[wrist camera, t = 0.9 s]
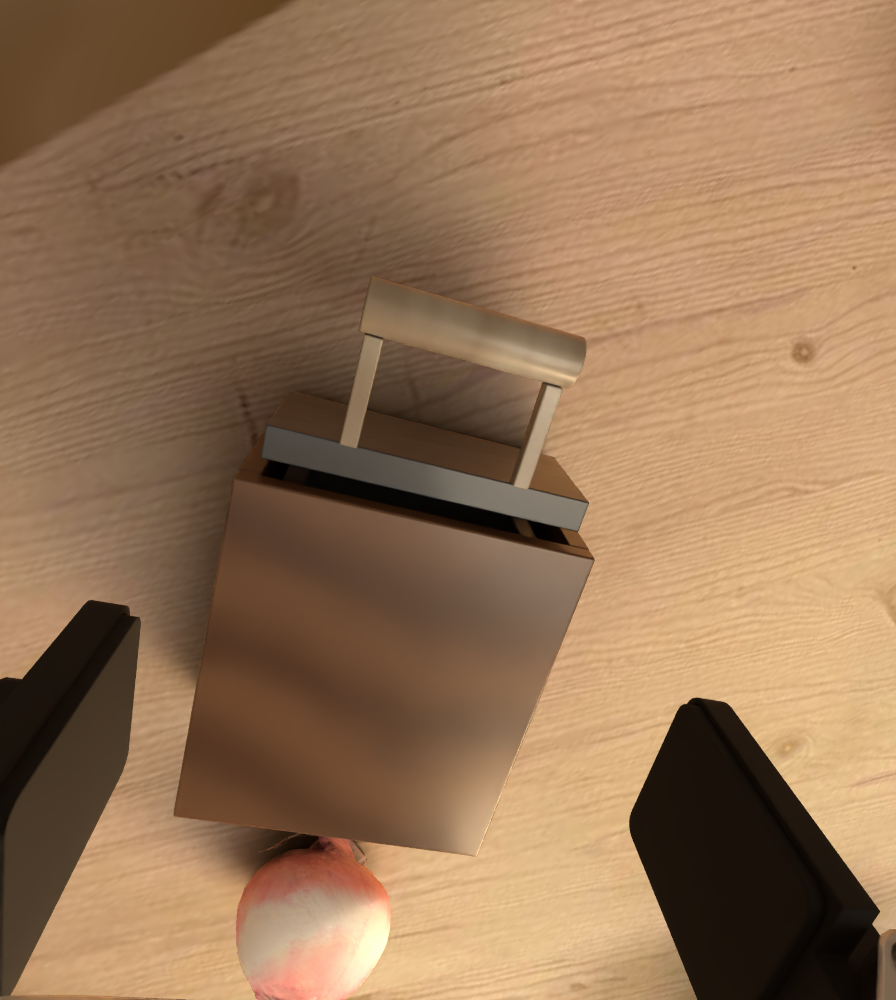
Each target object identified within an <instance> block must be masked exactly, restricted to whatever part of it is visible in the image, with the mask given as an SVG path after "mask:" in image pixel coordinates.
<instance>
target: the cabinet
mask: <svg viewBox="0 0 896 1000" xmlns="http://www.w3.org/2000/svg"><path fill="white" fill-rule="evenodd" d="M264 435H265V430H264V432H263V433H262V435H261V436H260V438H259V439H258V441H257V443H256V444H255V446H254V447H253V449H252V450H251V452H250V453H249V455H248V456H247V458H246V459H245V461H244V462H243V464H242V465H241V467H240V468H239V470H238V472H237V474H236V475H235V477H234V478H233V481H232V487H231V493H230V498H229V504H228V510H227V515H226V521H225V526H224V532H223V538H222V543H221V549H220V555H219V560H218V566H217V571H216V577H215V583H214V588H213V594H212V600H211V605H210V611H209V617H208V622H207V628H206V633H205V639H204V645H203V650H202V656H201V662H200V667H199V673H198V678H197V684H196V690H195V695H194V701H193V707H192V712H191V718H190V723H189V729H188V735H187V740H186V746H185V752H184V757H183V763H182V768H181V774H180V780H179V785H178V791H177V797H176V802H175V808H174V816H175V817H183V818H190V819H198V820H206V821H213V822H221V823H228V824H236V825H243V826H251V827H258V828H266V829H273V830H281V831H288V832H296V833H303V834H311V835H318V836H326V837H333V838H341V839H349V840H356V841H364V842H371V843H379V844H386V845H394V846H401V847H409V848H416V849H424V850H431V851H439V852H446V853H454V854H461V855H469V856H477V855H478V852H479V850H480V847H481V845H482V842H483V840H484V837H485V835H486V832H487V830H488V827H489V825H490V822H491V820H492V817H493V815H494V812H495V810H496V807H497V805H498V802H499V800H500V797H501V795H502V792H503V790H504V787H505V784H506V782H507V779H508V777H509V774H510V772H511V769H512V767H513V764H514V762H515V759H516V757H517V754H518V752H519V749H520V747H521V744H522V742H523V739H524V737H525V734H526V732H527V729H528V727H529V724H530V722H531V719H532V717H533V714H534V712H535V709H536V707H537V704H538V702H539V699H540V697H541V694H542V692H543V689H544V687H545V684H546V681H547V679H548V676H549V674H550V671H551V669H552V666H553V664H554V661H555V659H556V656H557V654H558V651H559V649H560V646H561V644H562V641H563V639H564V636H565V634H566V631H567V629H568V626H569V624H570V621H571V619H572V616H573V614H574V611H575V609H576V606H577V604H578V601H579V599H580V596H581V594H582V591H583V589H584V586H585V584H586V581H587V578H588V576H589V573H590V571H591V568H592V566H593V563H594V561H595V560H594V557H593V556H592V554H591V553H590V551H589V549H588V547H587V546H586V544H585V543H584V541H583V540H582V538H581V537H580V535H579V534H578V532H576V531H572V530H568V529H563V528H559V527H555V526H551V525H546V524H542V523H538V522H533V521H529V520H528V522H529V524H530V526H531V528H532V530H533V532H534V534H535V536H536V538H533V537H529V536H524V535H520V534H515V533H511V532H507V531H502V530H498V529H493V528H489V527H485V526H480V525H476V524H472V523H467V522H463V521H458V520H454V519H450V518H445V517H441V516H437V515H432V514H428V513H423V512H419V511H415V510H410V509H406V508H401V507H397V506H393V505H388V504H384V503H380V502H375V501H371V500H366V499H362V498H358V497H353V496H349V495H344V494H340V493H336V492H331V491H327V490H323V489H318V488H314V487H309V486H305V485H301V484H296V483H292V482H287V481H283V478H284V475H285V473H286V471H287V469H288V466H289V464H284V463H280V462H276V461H271V460H267V459H263V458H261V457H260V456H261V450H262V445H263V440H264Z"/></svg>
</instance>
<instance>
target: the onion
mask: <svg viewBox="0 0 896 1000" xmlns="http://www.w3.org/2000/svg"><path fill="white" fill-rule="evenodd" d="M300 834H302V833H297V834H295V835H293V836H291V837H289V836H288V837H289V838H288V837H287V838H285V839H283V840H282V841H280V842H279V843H277V844H275V845H274V846H272V847H271V848H268V849H267V850H264V851H257V852H266V851H268V850H272V849H274V848H276V847H278V848H280V847H281V845H283V844H284V843H285V842H286V841H287V840H289V839H291V838H293V837H296V836H298V835H300ZM309 836H318V835H311V834H308V836H307V837H309ZM366 860H367V859H366V857H365V856H364V855H363V853H362V852H361V851H360V850H359V848H358V847H357V846H356V845H355V843H354V842H353V841H352V840H349V839H341V838H333V837H326V836H319V838H318V840H317V841H316V842H314V843H313V844H312V846H311V847H309V849H292V850H289V851H287V852H284V853H281V854H279V855H277V856H276V857H274V858H273V859H271V860H270V861H268V862H267V863H265V864H264V865H263V866H262V867H261V868H260V869H258V871H257V872H256V873H255V874H254V875H253V876H252V878H251V879H250V881H249V883H248V884H247V886H246V887H245V889H244V892H243V894H242V897H241V900H240V902H239V905H238V909H237V921H236V943H237V954H238V957H239V960H240V964H241V967H242V970H243V972H244V974H245V976H246V978H247V980H248V981H249V983H250V985H251V987H252V990H253V991H254V993H255V996H256V999H257V1000H344V999H345V998H347V997H349V996H350V995H351V994H353V993H354V992H355V991H356V990H357V989H358V988H359V987H360V986H361V985H362V984H363V982H364V981H365V980H366V978H367V977H368V976H369V975H370V973H371V972H372V970H373V969H374V967H375V965H376V964H377V962H378V960H379V958H380V956H381V954H382V952H383V950H384V948H385V945H386V943H387V939H388V935H389V930H390V923H391V916H390V901H389V898H388V895H387V892H386V890H385V888H384V886H383V885H382V884H381V883H380V882H379V881H378V880H377V879H376V878H375V877H374V875H373V874H372V873H371V872H370V871H369V870H368V869H366V868H365V867H364V866H362V864H363V863H364V862H365V861H366Z"/></svg>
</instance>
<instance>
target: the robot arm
mask: <svg viewBox="0 0 896 1000" xmlns="http://www.w3.org/2000/svg"><path fill="white" fill-rule="evenodd" d="M140 627H141V621H140V618H139V617H134V616H130V610H129V607H128V606H125V605H119V604H113V603H106V602H100V601H94V600H89V601H88V602H86V603H85V604H84V606H83V607H82V608H81V609H80V610H79V612H78V613H77V614H76V615H75V616H74V618H73V619H72V620H71V621H70V622H69V624H68V625H67V626H66V627H65V628H64V630H63V631H62V632H61V633H60V634H59V636H58V637H57V638H56V639H55V640H54V642H53V643H52V644H51V645H50V646H49V648H48V649H47V650H46V651H45V652H44V654H43V655H42V656H41V657H40V658H39V660H38V661H37V662H36V663H35V664H34V666H33V667H32V668H31V669H30V670H29V672H28V673H27V674H26V675H25V676H24V678H23V679H15V678H8V677H6V678H3V679H0V1000H185V999H161V998H137V997H113V996H89V995H42V996H10V995H11V993H12V992H13V990H14V988H15V986H16V984H17V982H18V980H19V978H20V976H21V974H22V972H23V970H24V968H25V966H26V964H27V962H28V960H29V958H30V956H31V954H32V952H33V950H34V948H35V946H36V944H37V942H38V940H39V938H40V936H41V934H42V932H43V930H44V928H45V926H46V924H47V922H48V920H49V918H50V916H51V914H52V912H53V910H54V908H55V906H56V904H57V902H58V900H59V898H60V896H61V894H62V892H63V890H64V888H65V886H66V884H67V882H68V880H69V878H70V876H71V874H72V872H73V870H74V868H75V866H76V864H77V862H78V860H79V858H80V856H81V854H82V852H83V850H84V848H85V846H86V844H87V842H88V840H89V838H90V836H91V834H92V832H93V830H94V828H95V826H96V824H97V822H98V820H99V818H100V816H101V814H102V812H103V810H104V808H105V806H106V804H107V802H108V800H109V798H110V796H111V794H112V792H113V790H114V788H115V786H116V784H117V782H118V780H119V778H120V776H121V774H122V772H123V769H124V766H125V763H126V760H127V756H128V750H129V741H130V731H131V721H132V710H133V700H134V689H135V679H136V669H137V658H138V648H139V638H140ZM629 828H630V833H631V837H632V839H633V842H634V844H635V847H636V849H637V852H638V854H639V857H640V859H641V862H642V864H643V866H644V869H645V871H646V874H647V876H648V879H649V881H650V884H651V886H652V889H653V891H654V894H655V896H656V899H657V901H658V903H659V906H660V908H661V911H662V913H663V916H664V918H665V921H666V923H667V926H668V928H669V931H670V933H671V936H672V938H673V940H674V943H675V945H676V948H677V950H678V953H679V955H680V958H681V960H682V963H683V965H684V968H685V970H686V973H687V975H688V977H689V980H690V982H691V985H692V987H693V990H694V992H695V995H696V997H697V1000H896V929H890V930H888V931H886V932H885V933H883V934H882V935H881V936H880V935H879V933H878V932H877V930H876V929H875V928H874V926H873V925H872V923H873V921H874V920H875V919H876V917H877V916H878V914H879V913H880V910H879V909H878V908H877V906H876V905H875V904H874V902H873V901H872V899H871V898H870V897H869V895H868V894H867V893H866V891H865V890H864V889H863V887H862V886H861V884H860V883H859V882H858V880H857V879H856V878H855V876H854V875H853V873H852V872H851V871H850V869H849V868H848V867H847V865H846V864H845V863H844V861H843V860H842V858H841V857H840V856H839V854H838V853H837V852H836V850H835V849H834V847H833V846H832V845H831V843H830V842H829V841H828V839H827V838H826V837H825V835H824V834H823V832H822V831H821V830H820V828H819V827H818V826H817V824H816V823H815V821H814V820H813V819H812V817H811V816H810V815H809V813H808V812H807V810H806V809H805V808H804V806H803V805H802V804H801V802H800V801H799V800H798V798H797V797H796V795H795V794H794V793H793V791H792V790H791V789H790V787H789V786H788V784H787V783H786V782H785V780H784V779H783V778H782V776H781V775H780V774H779V772H778V771H777V769H776V768H775V767H774V765H773V764H772V763H771V761H770V760H769V758H768V757H767V756H766V754H765V753H764V752H763V750H762V749H761V747H760V746H759V745H758V743H757V742H756V741H755V739H754V738H753V737H752V735H751V734H750V732H749V731H748V730H747V728H746V727H745V726H744V724H743V723H742V721H741V720H740V719H739V717H738V716H737V715H736V713H735V712H734V711H733V709H732V708H731V707H730V706H729V705H728V704H727V703H725V702H721V701H715V700H708V699H702V698H692V699H691V700H690V701H689V702H688V703H687V704H684V705H682V706H680V708H679V709H678V711H677V713H676V715H675V718H674V720H673V722H672V724H671V726H670V728H669V731H668V733H667V735H666V737H665V739H664V742H663V744H662V746H661V748H660V750H659V753H658V755H657V757H656V759H655V761H654V763H653V766H652V768H651V770H650V772H649V774H648V777H647V779H646V781H645V783H644V785H643V788H642V790H641V792H640V794H639V796H638V799H637V801H636V803H635V805H634V807H633V809H632V812H631V815H630V820H629Z"/></svg>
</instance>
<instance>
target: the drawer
mask: <svg viewBox="0 0 896 1000" xmlns="http://www.w3.org/2000/svg"><path fill="white" fill-rule="evenodd" d="M359 331H360V332H362V333H365V334H364V338H363V343H362V347H361V351H360V356H359V360H358V364H357V368H356V373H355V377H354V381H353V386H352V390H351V394H350V399H349V403H348V405H346V404H342V403H338V402H334V401H330V400H326V399H322V398H318V397H314V396H310V395H306V394H302V393H298V392H294V391H289V392H288V393H287V395H286V396H285V398H284V399H283V401H282V402H281V404H280V405H279V407H278V409H277V410H276V412H275V413H274V415H273V416H272V418H271V419H270V421H269V422H268V424H267V425H266V429H265V435H264V440H263V445H262V450H261V456H260V457H261V458H263V459H267V460H271V461H276V462H280V463H284V464H289V466H288V469H287V471H286V473H285V475H284V478H283V481H287V482H292V483H296V484H301V485H305V486H309V487H314V488H318V489H323V490H327V491H331V492H336V493H340V494H344V495H349V496H353V497H358V498H362V499H366V500H371V501H375V502H380V503H384V504H388V505H393V506H397V507H401V508H406V509H410V510H415V511H419V512H423V513H428V514H432V515H437V516H441V517H445V518H450V519H454V520H458V521H463V522H467V523H472V524H476V525H480V526H485V527H489V528H493V529H498V530H502V531H507V532H511V533H515V534H520V535H524V536H529V537H533V538H536V536H535V534H534V532H533V530H532V528H531V526H530V524H529V522H528V520H529V521H533V522H538V523H542V524H546V525H551V526H555V527H559V528H563V529H568V530H572V531H576V532H578V531H579V528H580V525H581V523H582V520H583V518H584V515H585V512H586V510H587V507H588V504H589V502H588V501H587V499H586V498H585V497H584V496H583V494H582V493H581V492H580V490H579V489H578V488H577V486H576V485H575V484H574V483H573V481H572V480H571V479H570V477H569V476H568V475H567V474H566V472H565V471H564V470H563V468H562V467H561V466H560V465H559V463H558V462H557V461H556V459H555V458H554V457H551V456H547V455H543V454H541V451H542V448H543V446H544V443H545V440H546V437H547V434H548V431H549V428H550V425H551V422H552V419H553V417H554V414H555V411H556V408H557V405H558V402H559V399H560V396H561V393H562V388H561V387H563V388H570V387H572V386H573V385H574V383H575V382H576V380H577V379H578V377H579V375H580V373H581V370H582V367H583V364H584V361H585V356H586V347H587V345H586V340H585V339H584V338H583V337H581V336H578V335H574V334H571V333H567V332H564V331H560V330H557V329H553V328H550V327H547V326H543V325H540V324H536V323H533V322H529V321H526V320H522V319H519V318H516V317H512V316H509V315H505V314H502V313H498V312H495V311H492V310H488V309H485V308H481V307H478V306H474V305H471V304H467V303H464V302H461V301H457V300H454V299H450V298H447V297H443V296H440V295H437V294H433V293H430V292H426V291H423V290H419V289H416V288H412V287H409V286H406V285H402V284H399V283H395V282H392V281H388V280H385V279H382V278H378V277H375V276H372V277H371V278H370V282H369V286H368V291H367V295H366V299H365V303H364V308H363V312H362V317H361V321H360V326H359ZM383 338H384V339H388V340H391V341H395V342H399V343H402V344H406V345H410V346H413V347H417V348H421V349H424V350H428V351H432V352H435V353H439V354H442V355H446V356H450V357H453V358H457V359H461V360H464V361H468V362H472V363H475V364H479V365H483V366H486V367H490V368H494V369H497V370H501V371H504V372H508V373H512V374H515V375H519V376H523V377H526V378H530V379H534V380H537V381H541V382H543V383H542V385H541V388H540V391H539V394H538V397H537V400H536V403H535V406H534V409H533V412H532V415H531V418H530V421H529V425H528V428H527V431H526V434H525V437H524V440H523V443H522V446H521V449H519V448H515V447H511V446H508V445H504V444H500V443H496V442H492V441H488V440H484V439H480V438H476V437H472V436H468V435H464V434H460V433H456V432H452V431H448V430H444V429H440V428H436V427H432V426H429V425H425V424H421V423H417V422H413V421H409V420H405V419H401V418H397V417H393V416H389V415H385V414H381V413H377V412H373V411H369V410H366V409H367V405H368V401H369V397H370V393H371V389H372V385H373V381H374V376H375V372H376V368H377V364H378V360H379V356H380V352H381V348H382V343H383Z"/></svg>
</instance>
